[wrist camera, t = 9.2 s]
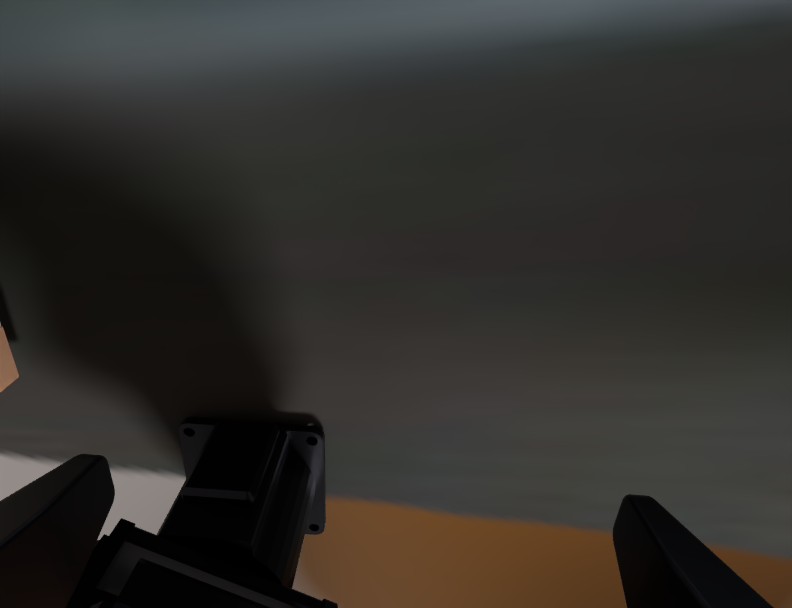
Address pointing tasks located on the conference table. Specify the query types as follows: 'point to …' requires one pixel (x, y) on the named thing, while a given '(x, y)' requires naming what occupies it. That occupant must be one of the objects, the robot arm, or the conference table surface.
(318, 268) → the conference table surface
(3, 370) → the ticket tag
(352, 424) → the conference table surface
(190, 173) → the conference table surface
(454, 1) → the conference table surface
